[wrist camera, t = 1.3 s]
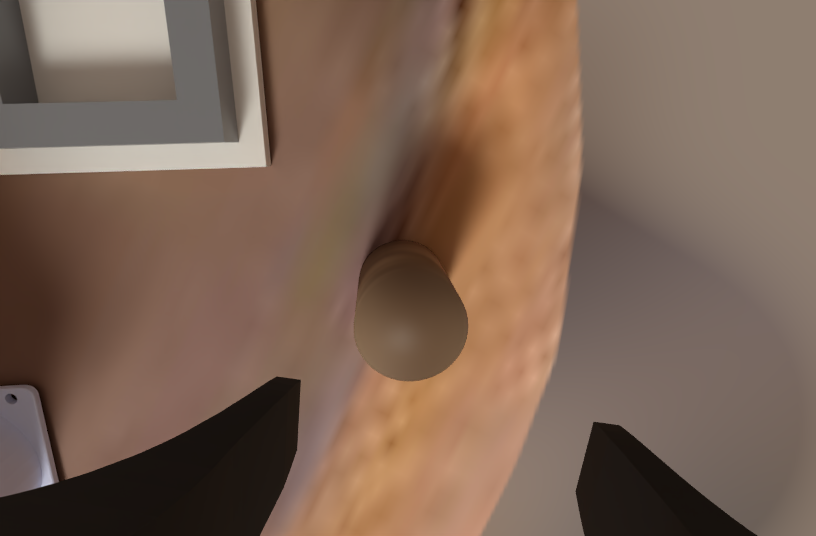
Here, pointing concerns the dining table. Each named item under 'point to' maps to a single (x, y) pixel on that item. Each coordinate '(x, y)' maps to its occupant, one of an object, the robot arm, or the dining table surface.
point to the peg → (408, 313)
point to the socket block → (130, 86)
